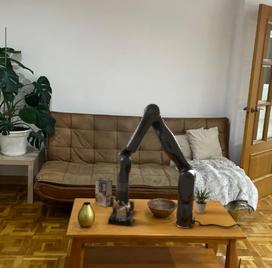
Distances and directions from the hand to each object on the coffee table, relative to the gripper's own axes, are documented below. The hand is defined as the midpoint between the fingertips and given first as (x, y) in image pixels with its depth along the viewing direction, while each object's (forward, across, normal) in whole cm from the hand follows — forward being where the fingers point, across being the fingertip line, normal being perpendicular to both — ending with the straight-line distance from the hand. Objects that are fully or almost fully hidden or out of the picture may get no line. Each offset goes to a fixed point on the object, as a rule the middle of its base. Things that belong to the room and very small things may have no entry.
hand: (121, 215), depth 209 cm
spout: (+1, 0, 0) cm, 1 cm away
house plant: (+4, -38, -38) cm, 54 cm away
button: (0, +4, -12) cm, 13 cm away
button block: (+4, +4, -12) cm, 14 cm away
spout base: (+4, 0, 0) cm, 4 cm away
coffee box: (+4, +22, -19) cm, 29 cm away
